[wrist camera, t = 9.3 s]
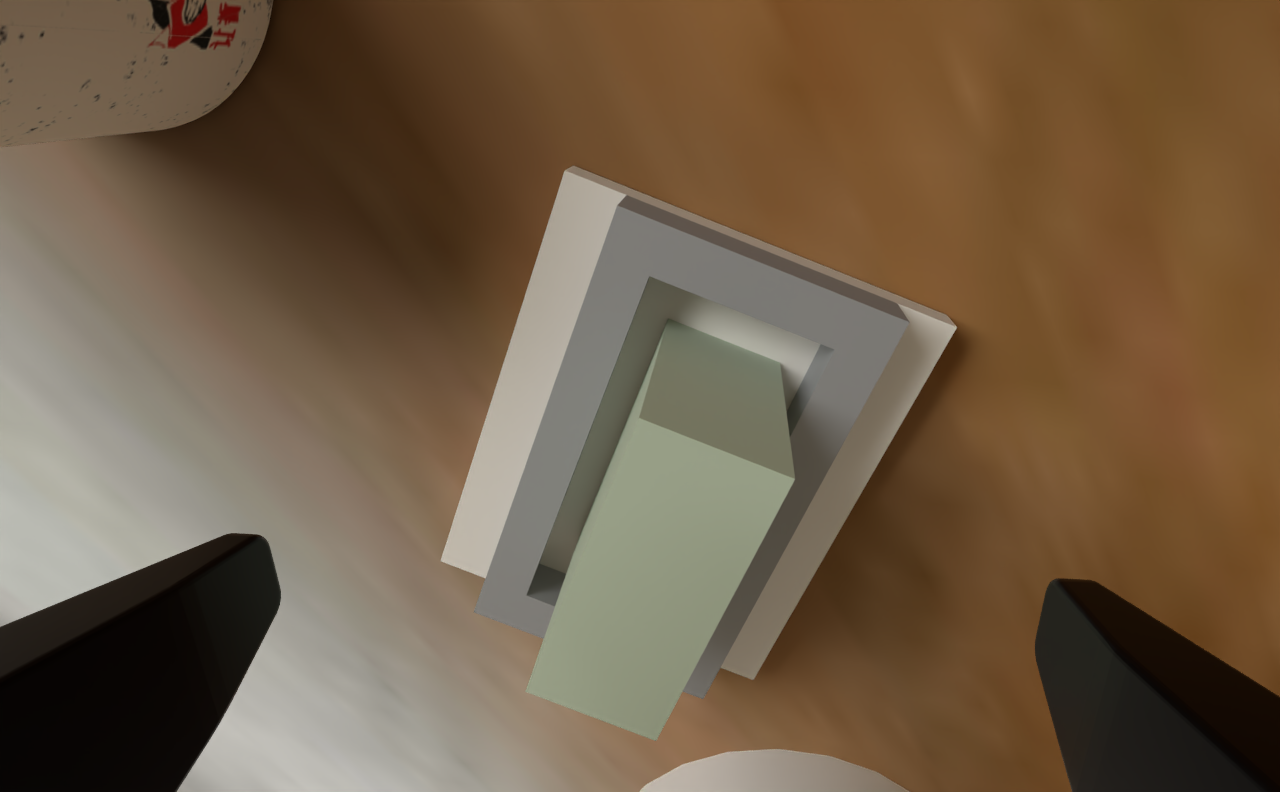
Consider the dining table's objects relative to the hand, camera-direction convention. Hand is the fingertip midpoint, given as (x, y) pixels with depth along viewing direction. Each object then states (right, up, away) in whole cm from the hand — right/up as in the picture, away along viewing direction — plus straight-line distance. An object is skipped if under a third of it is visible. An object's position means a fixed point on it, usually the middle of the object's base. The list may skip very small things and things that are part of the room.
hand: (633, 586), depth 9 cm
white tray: (+1, +1, +13) cm, 13 cm away
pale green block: (+1, +1, +12) cm, 12 cm away
